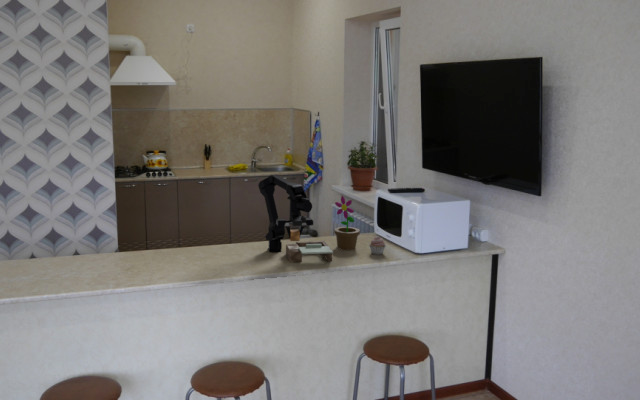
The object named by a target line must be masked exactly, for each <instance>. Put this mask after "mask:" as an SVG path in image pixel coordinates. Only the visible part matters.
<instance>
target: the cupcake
mask: <svg viewBox="0 0 640 400" xmlns="http://www.w3.org/2000/svg"><path fill="white" fill-rule="evenodd" d="M368 246H369V248H370V252H371V255H375V256H380V255H383V254H384V251H385V248H386V247H387V244H386V242H385V240H384V238H382V237H380V236H379V235H376V236H375V237H374V239H372V240H371V241H370V243H369V245H368Z"/></svg>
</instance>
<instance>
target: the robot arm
mask: <svg viewBox="0 0 640 400" xmlns="http://www.w3.org/2000/svg"><path fill="white" fill-rule="evenodd" d="M276 186H278V187H279V188H281V189H283V190H284V191H286V192H285V193H286V194H287V195H288V196H287V200H289V219H285V218H284V217H283V218H279V215H278V209H277V206H276V201H275V196H274V193H275V191H276ZM258 189H259V193H260V194H261V195H262V196H263V197H264V200H265V205H266V210H267V214H268V219H269V225H268V229H267V230H268V232H267V233H266V234H265V236H264V237H265V239H266V241H268V247H267V250H268V252H269V253H275V252H277V253H279V252H282V250H283V249H282V243H283V242H282V240H284V237H285V234H286V231H287V234H288V237H289V238H290V236H291V235H290V230H291V225H292V226H293V227H298V230H299V231H300V236H301V235H302V233H303V230H304V228H307V227H308V226H314V220H313V218H311V217H307V216H306V215H302V212H304V213H310V212H311V211H312V208H313V203H312V202H311V201H310V199H309V198H308V197H307V194H306V192H305V189H304V188H303V185H302V184H300V183H296V182H295V183H294V182H290V181H289V180H287V179H285V178H283V177H281V176H280V175H278V174H271V175H269V176H268V177H266V178H264V179H262V180H259V183H258Z"/></svg>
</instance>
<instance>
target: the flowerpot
mask: <svg viewBox="0 0 640 400" xmlns="http://www.w3.org/2000/svg"><path fill="white" fill-rule="evenodd" d="M340 201H341V202H339V201H335V203H334V204H335V206H336V207H338V208H339V209H338V210H337V212H336V215H341V214H342V213H343V217H344V219H345V220H346V221H345V220H343V221H341V222H340V224H342V225H344V226H338V227H336V228H334V231H333V233H334V235H335V236H336V245H337V246H336V247H337V249H339V250H341V249H342V250H343V251H353V250H356V246H357V243H358V238H359V237H358V236H359V235H360V234H361V230H360V229H359V228H356V227H351V226H349V223H355V219H354V218H353V217H352V216H349V213H350V214H351V213H354V209H353V208H351V207H350V205H352V203H353V201H352V199H350V200H348V201H346V198H345V197H344V195H342V196H341V197H340Z"/></svg>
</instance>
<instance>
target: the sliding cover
mask: <svg viewBox="0 0 640 400" xmlns="http://www.w3.org/2000/svg"><path fill="white" fill-rule="evenodd" d="M330 248H331V247H330V246H329V245H328V246H322V244H306V247H298V249H299V250H300V252H301V253H302V255H313V254H314V255H315V254H317V255H319V254H320V255H321V254H322V255H323V253H332V254H333V253H334V252H333V249H332V248H331V249H332V250H331V249H330Z"/></svg>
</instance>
